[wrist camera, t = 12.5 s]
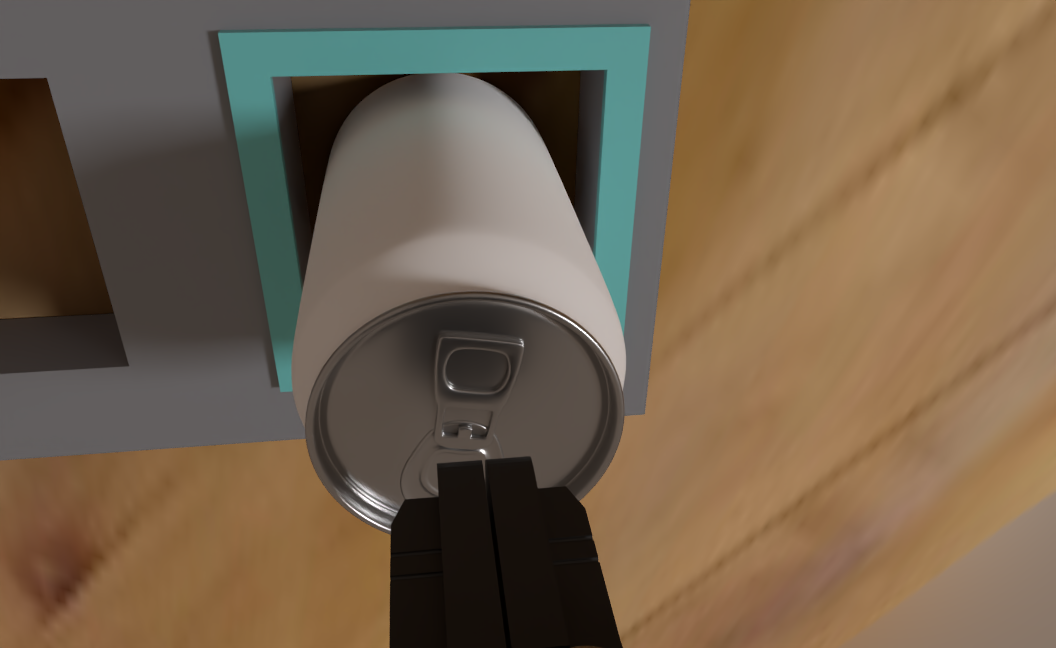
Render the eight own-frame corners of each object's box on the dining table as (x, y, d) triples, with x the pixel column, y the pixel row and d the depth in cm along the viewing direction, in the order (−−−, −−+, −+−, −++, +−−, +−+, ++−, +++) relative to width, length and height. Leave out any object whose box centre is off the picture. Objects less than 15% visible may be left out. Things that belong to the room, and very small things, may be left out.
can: (320, 260, 26) (270, 556, 16) (337, 48, 23) (288, 247, 12) (525, 283, 27) (601, 568, 17) (568, 85, 24) (693, 292, 14)
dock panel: (-415, -83, 19) (-555, -64, 16) (663, -82, 22) (701, -66, 19) (-157, 411, 26) (-222, 483, 23) (623, 361, 29) (647, 419, 26)
